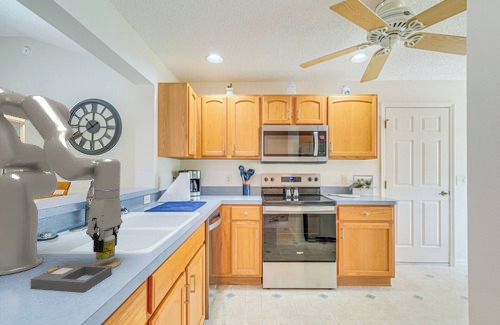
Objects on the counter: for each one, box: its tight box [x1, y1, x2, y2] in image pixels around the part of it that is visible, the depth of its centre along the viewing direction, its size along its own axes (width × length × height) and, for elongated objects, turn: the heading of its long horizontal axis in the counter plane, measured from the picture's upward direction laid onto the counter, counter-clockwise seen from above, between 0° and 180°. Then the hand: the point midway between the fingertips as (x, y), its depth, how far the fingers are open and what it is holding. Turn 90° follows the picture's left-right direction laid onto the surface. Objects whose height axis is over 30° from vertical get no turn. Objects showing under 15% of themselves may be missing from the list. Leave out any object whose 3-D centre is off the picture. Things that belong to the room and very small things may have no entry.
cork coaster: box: [90, 257, 122, 269], centre depth 75 cm, size 9×9×1 cm
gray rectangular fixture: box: [30, 263, 113, 293], centre depth 65 cm, size 16×10×3 cm, turn 83°
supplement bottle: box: [95, 229, 116, 261], centre depth 76 cm, size 5×5×10 cm
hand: (105, 248), depth 76 cm, fingers closed on supplement bottle, 5 cm apart
